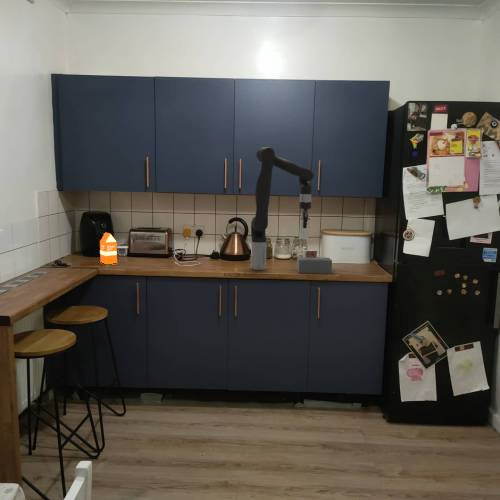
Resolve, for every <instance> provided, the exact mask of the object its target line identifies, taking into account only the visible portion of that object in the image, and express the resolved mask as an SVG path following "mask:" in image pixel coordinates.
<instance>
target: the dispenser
mask: <svg viewBox="0 0 500 500" xmlns="http://www.w3.org/2000/svg"><path fill="white" fill-rule="evenodd" d="M332 267H333V260H332V259H331V258H330V257H317V258H311V257H303V256H302V257H299V256H298V257H296V271H297V272H298V273H299V274H332V272H333V271H332V269H333V268H332Z"/></svg>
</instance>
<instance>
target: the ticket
mask: <svg viewBox="0 0 500 500" xmlns="http://www.w3.org/2000/svg"><path fill="white" fill-rule="evenodd" d="M305 220H306V219H305ZM310 220H311V218H310V217H308V221H307V222H306V223H307V228H303V218H302V217H300V218H299V232H298V233H299V235H298V239H299V240H309V238H310V237H309V236H310V235H309V234H310V222H311V221H310Z"/></svg>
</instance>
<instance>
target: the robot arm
mask: <svg viewBox="0 0 500 500" xmlns="http://www.w3.org/2000/svg"><path fill="white" fill-rule="evenodd" d="M256 158H257V160H258V161H259V162H261V165H260V166H261V167H260V171H259V175H258V178H257V180H256V183H255V193H254V196H255V197H254V198H255V204H256V205H255V207H256V210H255V216H254V217H253V218H252V219H251V221H250V235H251V236H250V237H251V253H250V254H251V256H250V257H251V259H250V260H251V261H250V269H251V270H254V271H255V270H256V271H262V270H266V269H267V236H266V230H267V228H268V225H269V204H270V197H271V189H272V176H273V170H274V169H273V168H274V167H276V168H278V169H281V170H283V171H285V172H286V173H288V174H290V175H292V176H295V177H298V181H299V182H298V183H299V185H300V189H299V190H300V193H299V209H301V210H302V211H301V218H303V228H307V223H306V222H307V221H308V218H309V214H310V213H309V211H308V210H310V209H312V186H311V184H310V183H309V184H308V183H307V181H309V182H311V181H312V180H313V179H314V177H315V173H314V172H313V170H311V169H309V168H307V167H304V166H301V165H299V164H296V163H295V162H293V161H291V160H288V159H285V158H282V157H280V156H277V155H276V154H275V150H274V149H273V148H272V147H270V146H263V147H260V148H259V149H258V150H257V151H256ZM305 219H306V220H305Z"/></svg>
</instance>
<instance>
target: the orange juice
mask: <svg viewBox="0 0 500 500" xmlns="http://www.w3.org/2000/svg"><path fill="white" fill-rule="evenodd" d="M117 247H118V245H117V240H116V239H115V238H114V236H113V235H112V234H111V233H109V232H105V233H104V234H103V235H102V238H101V239H100V240H99V248H100V249H99V254H100V263H101V262H102V263H104V264H112V265H114V264H113V263H117V264H118V251H117V250H118V249H117ZM102 263H101V264H102ZM104 264H103V265H104Z"/></svg>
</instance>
